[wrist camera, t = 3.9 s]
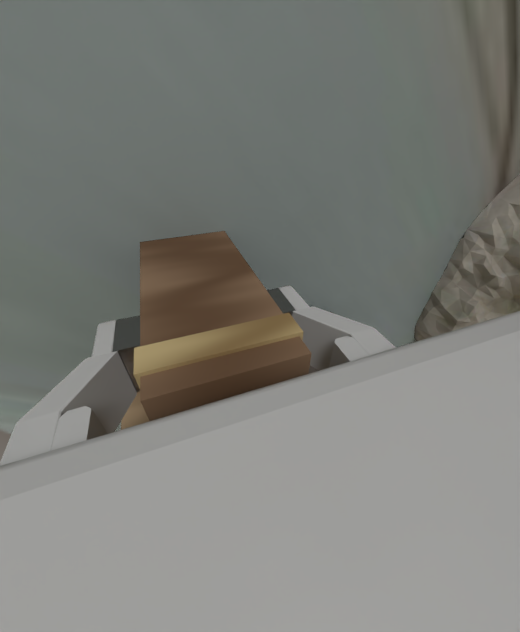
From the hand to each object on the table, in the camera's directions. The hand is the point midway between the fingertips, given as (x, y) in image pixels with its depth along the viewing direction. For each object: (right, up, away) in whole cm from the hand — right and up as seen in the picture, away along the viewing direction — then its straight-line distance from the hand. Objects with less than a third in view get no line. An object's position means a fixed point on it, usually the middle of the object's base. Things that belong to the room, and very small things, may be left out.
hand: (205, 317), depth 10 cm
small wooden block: (-1, +2, +3) cm, 4 cm away
